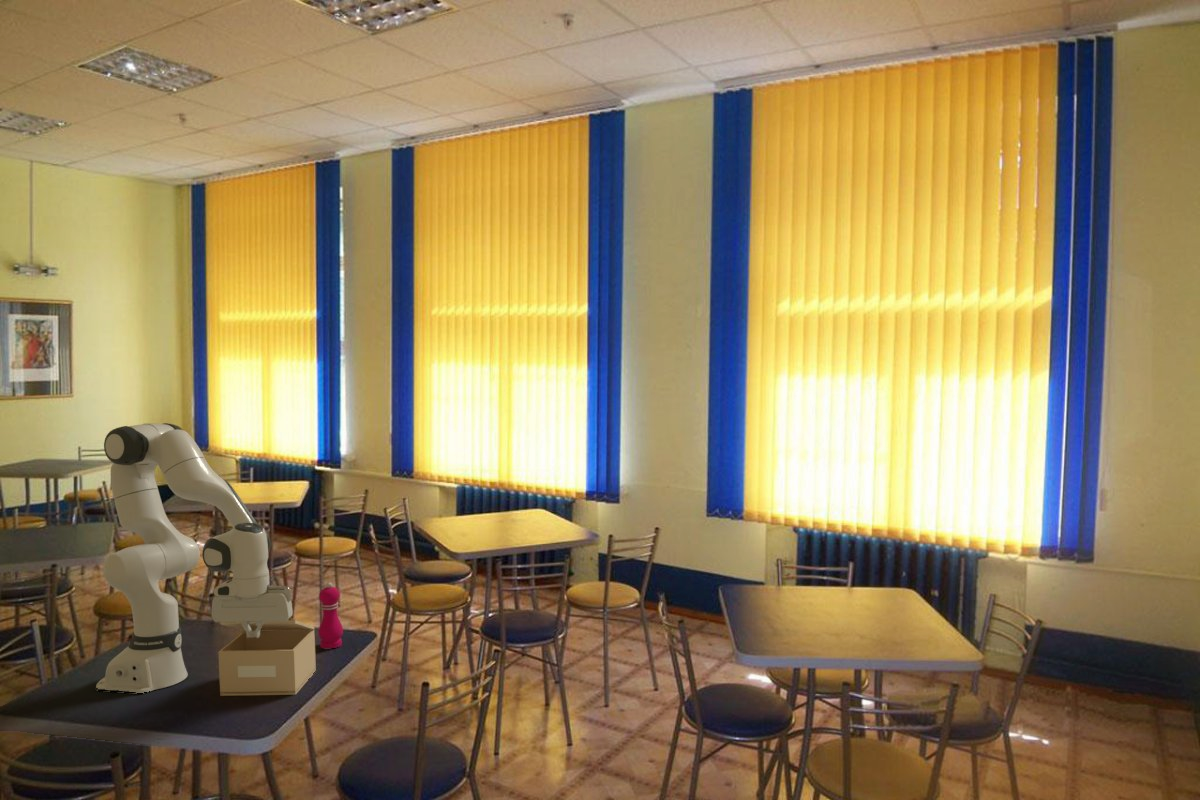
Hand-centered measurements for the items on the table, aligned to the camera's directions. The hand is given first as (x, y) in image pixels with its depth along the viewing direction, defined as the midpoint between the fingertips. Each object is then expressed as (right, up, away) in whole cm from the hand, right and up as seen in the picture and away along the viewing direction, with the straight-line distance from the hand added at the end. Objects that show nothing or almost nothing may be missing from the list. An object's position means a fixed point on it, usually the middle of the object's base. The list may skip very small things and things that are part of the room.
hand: (253, 637), depth 220 cm
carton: (0, -16, +10) cm, 18 cm away
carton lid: (0, 0, +10) cm, 10 cm away
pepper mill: (+8, -14, +38) cm, 41 cm away
